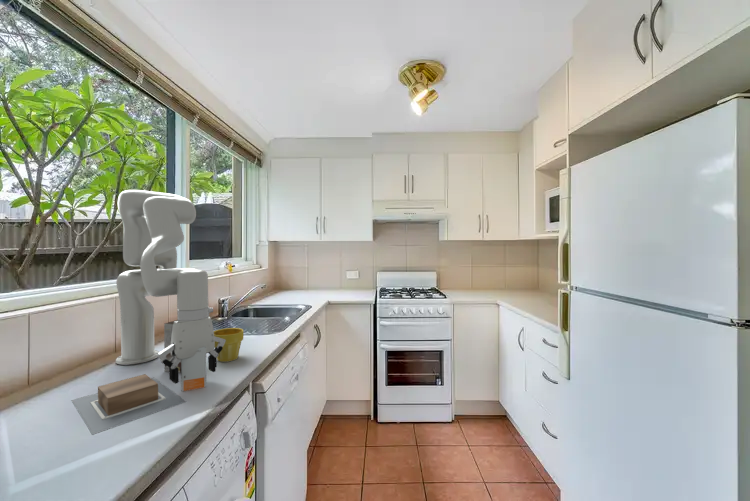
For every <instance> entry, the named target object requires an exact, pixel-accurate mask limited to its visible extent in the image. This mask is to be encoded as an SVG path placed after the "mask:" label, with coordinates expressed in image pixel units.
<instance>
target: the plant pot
mask: <svg viewBox="0 0 750 501" xmlns="http://www.w3.org/2000/svg"><path fill="white" fill-rule="evenodd" d="M214 336H215V337H219V338H222V339H225V340H226V341H225V344H224V346H223V349H222V350H221V352H220V353H219V354H218V357H217V362H221V363H224V362H225V363H227V362H231V361H235V360H237V359H238V358H239V354H240V349H241V344H242V341H244V329H243V328H240V327H227V328H226V327H225V328H220V329H216V330H214ZM217 346H218V342H216V341H215V347H214V349H215V348H216V347H217Z"/></svg>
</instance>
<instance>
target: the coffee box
mask: <svg viewBox="0 0 750 501" xmlns="http://www.w3.org/2000/svg"><path fill="white" fill-rule="evenodd" d="M174 321H177V319H176V320H173V321H169V322H165V323H164V324H163V326H164V329H163V331H164V332H163V334H164V335H163V338H164V340H163V341H164V347H163V348H164V349H165V348H167V347H168V346H170V345H171V336H172V328H173V324H174ZM164 349H163V350H164ZM172 357H173V356H171V352H170V353H169V354H167V355H166V358H167V360H169V361H170V360H171V358H172ZM163 366H164V373H169V367H168V366H166V365H165V364H163ZM177 368H178V374H181V361H180V362H179V364H178V365H177Z"/></svg>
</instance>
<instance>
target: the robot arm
mask: <svg viewBox="0 0 750 501" xmlns="http://www.w3.org/2000/svg"><path fill="white" fill-rule="evenodd" d="M117 208H118V214H119V216H120V218H121V221H122V225H123V226H122V227H123V240H122V241H123V244H122V259H123V262H124V263H125V264H126V265H127V266H129V267H140V269H132V270H126V271H123V272H121V273H120V274H119V275H118V276H117V278H116V289H117V293H118V298H119V310H120V350H121V351H120V354H121V355H119V356H118V357H117V358H116V359H115V364H118V365H123V366H126V365H127V366H128V365H130V366H131V365H136V364H137V365H138V364H143V363H148V362H150V361H152V360H154V359H157V358H158V359H159V361H160V362H161V363H162V364H163V365H164V364H165V365H166V366H168V367H169V372H168V374H169V376H168V377H169V380H170V381H171V382H172V383H174V384H178V383H179V382H180V381H179V380H180V379H179V378H180V377H179V373H178V368H177V365H178V364H179V362H180V361H181V360H183V359H187V358H190V357H193V356H194V355H195V353H196V352H197V349H199V348H203V347H206V355H207V354H209V356H208V358H207V364H208V366H207V369H208V370H209V371H210V372H213V373H215V372H216V370H217V366H218V364H217V363H218V360H217V357H218V354H219V353H220V352H221V350H222V349H223V346H224V344H225V341H226V340H225V339H222V338H219V337H215V336H214V331H215V330H214V326H213V321H212V318H211V317H210V314H211V313H214V308H213V307H210V306H209V276H208V272H207V271H206V270H204V269H197V268H194V267H182V268H180V267H179V268H177V263H178V262H177V261H178V253H177V247H179V246H180V245H182V244H183V242H184V240H185V235H184V232H183V229H182V226H181V225H190V224H193V223H194V221H195V220H196V216H197V210H196V207H195V205H194V202H192V201H191V200H190V199H188V198H186V197H183V196H180V195H179V194H173V193H169V192H168V193H167V192H159V191H149V190H142V189H141V190H140V189H127V190H126V189H125V190H123V191H121V192H120V193H119V195H118V198H117ZM157 266H159V268H157ZM149 296H151V297H153V298H154V297H155V298H159V297H168V296H169V297H170V296H176V307H177V308H176V309H177V310H176V311H177V312H176V313H177V319H176V320H177V321H175V320H173V321H174V324H173V328H172V336H171V345H170V346H168V347H167V348H165V349H163V350H161V351H159V350H156V349H155V308H154V306H153V304H152V303H151V302H150V301H149V300H147V298H146V297H149ZM215 341H216V342H218V346H217V347H216V348H215ZM170 352H171V356H173V357H172V358H171V360H170V361H169V360H167V358H166V355H167V354H169V353H170Z"/></svg>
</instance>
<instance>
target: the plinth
mask: <svg viewBox="0 0 750 501" xmlns="http://www.w3.org/2000/svg"><path fill="white" fill-rule="evenodd" d="M151 378H152V377H150V376H149V375H147V374H146V373H145V374H140V375H137V376H132V377H128V378H125V379H121V380H117V381H114V382H110V383H105V384H103V385H99V386H97V393H98V403H99V404H100V406H101V407H102V408H103V409H104V411H105V412H106V413H107V415H108V416H109V415H112V414H115V413H118V412H121V411H124V410H127V409H130V408H133V407H136V406H139V405H142V404H146V403H149V402H152V401H155V400H158V383H156V382H155V381H154V380H152V379H151Z"/></svg>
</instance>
